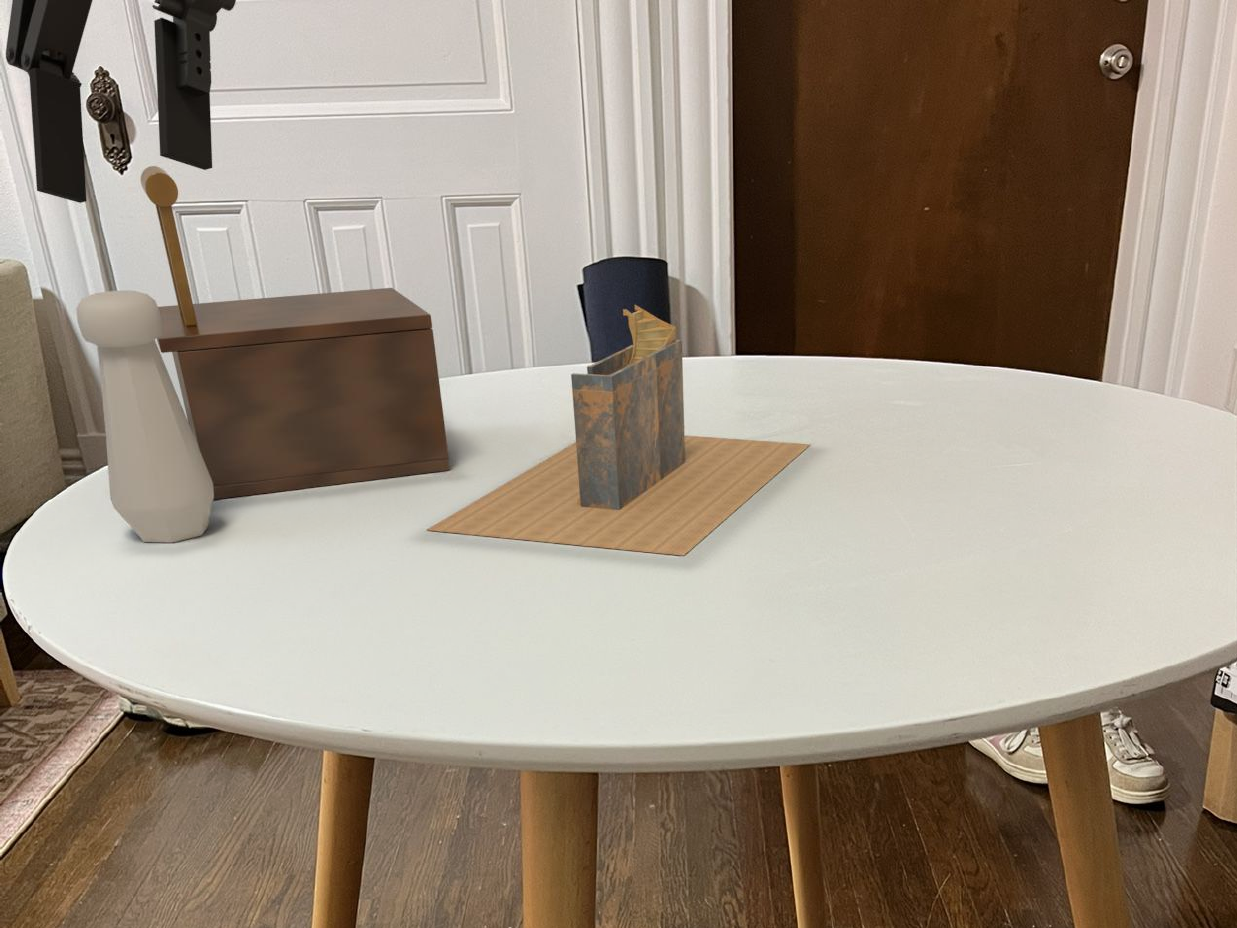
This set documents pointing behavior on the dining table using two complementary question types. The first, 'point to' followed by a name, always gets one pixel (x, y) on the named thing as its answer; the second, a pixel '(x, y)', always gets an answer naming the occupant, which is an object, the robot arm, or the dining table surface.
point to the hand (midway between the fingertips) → (121, 180)
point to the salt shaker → (145, 422)
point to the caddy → (315, 411)
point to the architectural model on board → (629, 463)
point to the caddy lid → (265, 302)
